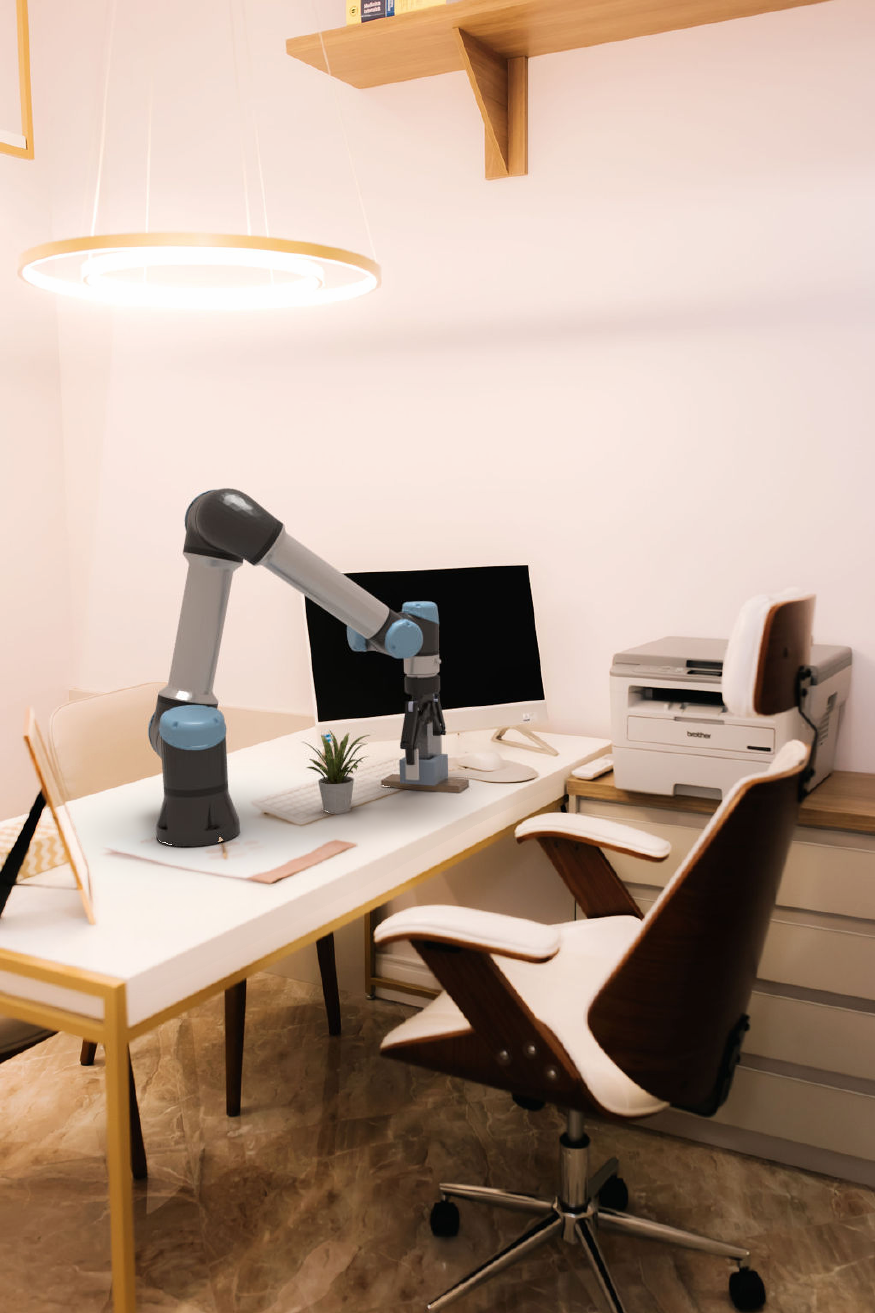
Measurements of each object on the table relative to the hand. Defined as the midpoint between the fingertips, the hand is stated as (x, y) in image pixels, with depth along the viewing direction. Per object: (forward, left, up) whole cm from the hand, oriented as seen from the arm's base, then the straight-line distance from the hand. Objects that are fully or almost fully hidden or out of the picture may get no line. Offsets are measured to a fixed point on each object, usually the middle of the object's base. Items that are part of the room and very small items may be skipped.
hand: (424, 772), depth 225 cm
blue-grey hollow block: (0, 0, -2) cm, 2 cm away
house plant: (-19, +14, -3) cm, 24 cm away
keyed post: (0, 0, -3) cm, 3 cm away
